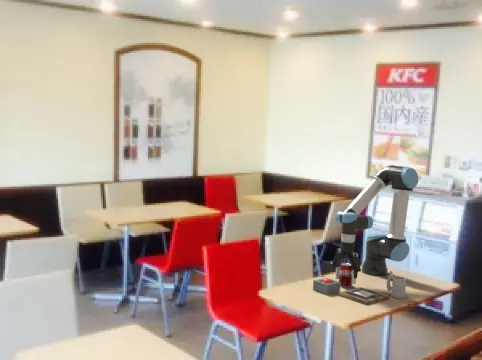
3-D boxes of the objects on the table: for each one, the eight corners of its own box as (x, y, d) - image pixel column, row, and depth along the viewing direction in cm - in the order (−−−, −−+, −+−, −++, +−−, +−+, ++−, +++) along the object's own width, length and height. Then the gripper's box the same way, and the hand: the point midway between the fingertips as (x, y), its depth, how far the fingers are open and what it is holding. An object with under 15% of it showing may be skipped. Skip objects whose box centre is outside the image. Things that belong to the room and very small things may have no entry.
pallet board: (360, 290, 312) (361, 285, 312) (388, 298, 298) (389, 294, 298) (338, 295, 300) (338, 290, 300) (366, 304, 287) (366, 299, 286)
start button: (326, 286, 311) (326, 277, 311) (333, 289, 308) (333, 279, 307) (319, 288, 308) (320, 279, 308) (326, 290, 304) (327, 281, 304)
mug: (399, 299, 298) (400, 276, 296) (381, 293, 307) (382, 271, 306) (409, 297, 302) (410, 274, 301) (391, 291, 312) (392, 269, 310)
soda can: (351, 288, 315) (353, 266, 313) (338, 286, 316) (339, 265, 315) (352, 284, 322) (353, 263, 321) (338, 283, 323) (339, 262, 322)
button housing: (325, 286, 315) (326, 277, 315) (340, 291, 307) (340, 282, 307) (312, 289, 309) (313, 280, 308) (327, 294, 301) (327, 285, 301)
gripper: (327, 238, 323) (324, 277, 325) (360, 246, 305) (357, 287, 307) (336, 236, 328) (334, 275, 330) (369, 244, 310) (366, 285, 312)
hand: (345, 281), depth 319 cm, fingers open, 11 cm apart
